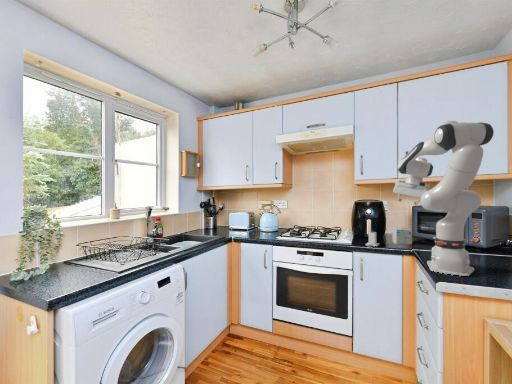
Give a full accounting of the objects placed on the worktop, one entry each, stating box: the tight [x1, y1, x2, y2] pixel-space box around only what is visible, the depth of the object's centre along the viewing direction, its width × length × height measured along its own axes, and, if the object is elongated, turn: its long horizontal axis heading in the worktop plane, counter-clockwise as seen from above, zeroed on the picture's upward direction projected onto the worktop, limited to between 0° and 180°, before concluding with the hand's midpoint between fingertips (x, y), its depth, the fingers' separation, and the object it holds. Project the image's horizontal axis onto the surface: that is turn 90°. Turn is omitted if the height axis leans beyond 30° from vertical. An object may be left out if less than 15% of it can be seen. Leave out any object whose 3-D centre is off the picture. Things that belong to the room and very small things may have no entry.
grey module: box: [368, 231, 377, 245], centre depth 173 cm, size 4×4×8 cm
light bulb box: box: [392, 227, 413, 245], centre depth 176 cm, size 11×7×11 cm, turn 84°
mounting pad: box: [365, 241, 380, 247], centre depth 173 cm, size 9×7×1 cm
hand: (407, 203), depth 160 cm, fingers open, 8 cm apart
